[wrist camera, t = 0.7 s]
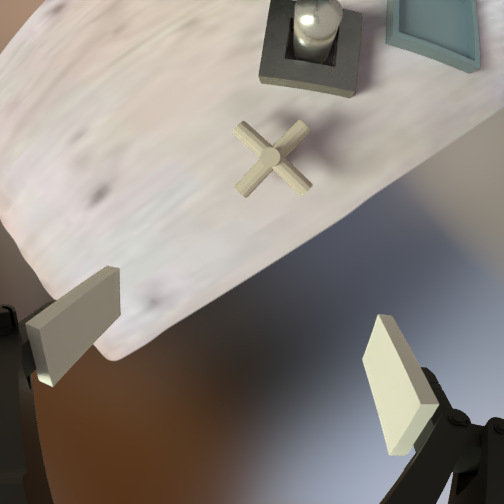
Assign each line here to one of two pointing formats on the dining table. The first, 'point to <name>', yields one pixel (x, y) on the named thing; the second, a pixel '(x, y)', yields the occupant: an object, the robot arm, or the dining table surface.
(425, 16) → the parts tray
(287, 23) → the block
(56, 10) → the dining table surface
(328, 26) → the shiny metal cylinder
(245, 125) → the pipe connector
